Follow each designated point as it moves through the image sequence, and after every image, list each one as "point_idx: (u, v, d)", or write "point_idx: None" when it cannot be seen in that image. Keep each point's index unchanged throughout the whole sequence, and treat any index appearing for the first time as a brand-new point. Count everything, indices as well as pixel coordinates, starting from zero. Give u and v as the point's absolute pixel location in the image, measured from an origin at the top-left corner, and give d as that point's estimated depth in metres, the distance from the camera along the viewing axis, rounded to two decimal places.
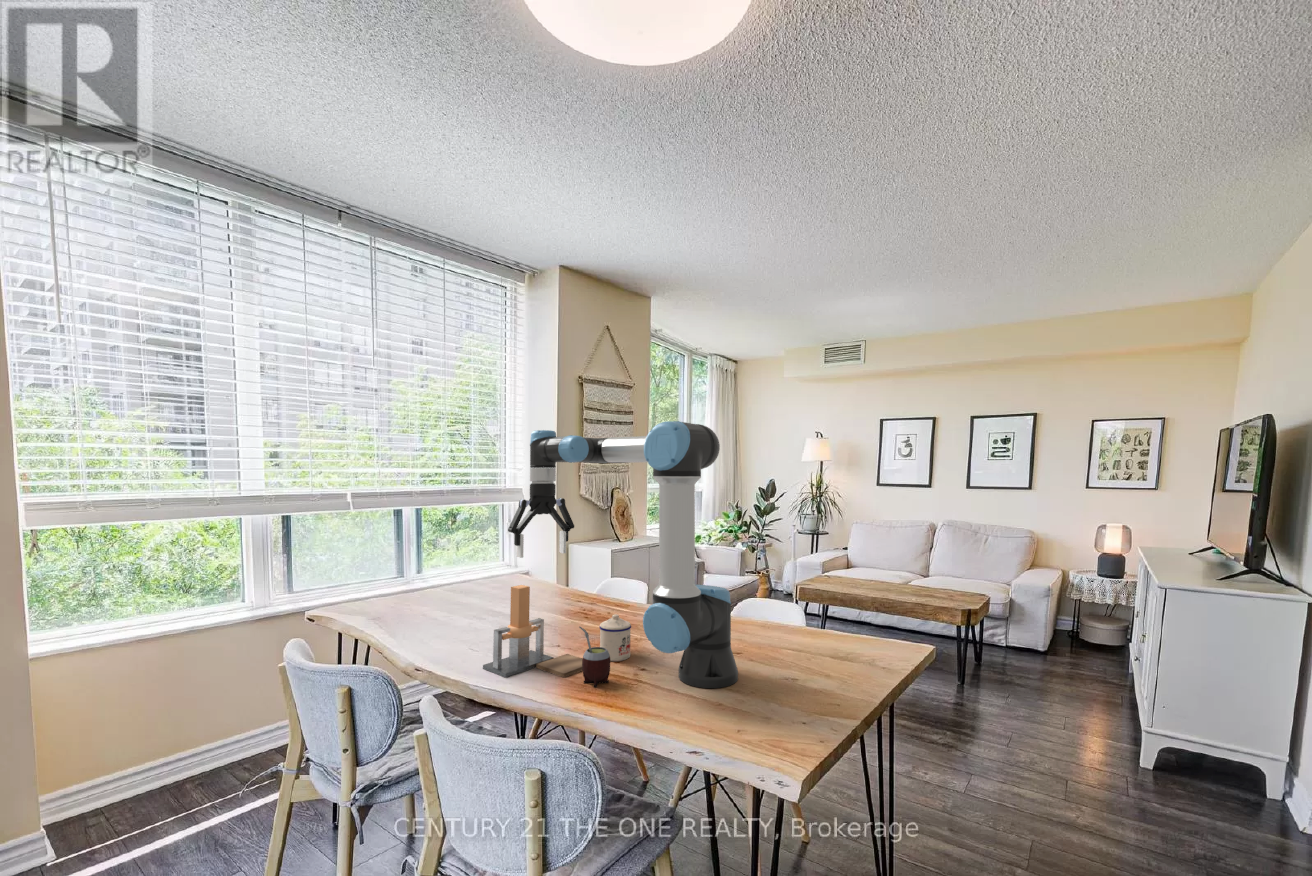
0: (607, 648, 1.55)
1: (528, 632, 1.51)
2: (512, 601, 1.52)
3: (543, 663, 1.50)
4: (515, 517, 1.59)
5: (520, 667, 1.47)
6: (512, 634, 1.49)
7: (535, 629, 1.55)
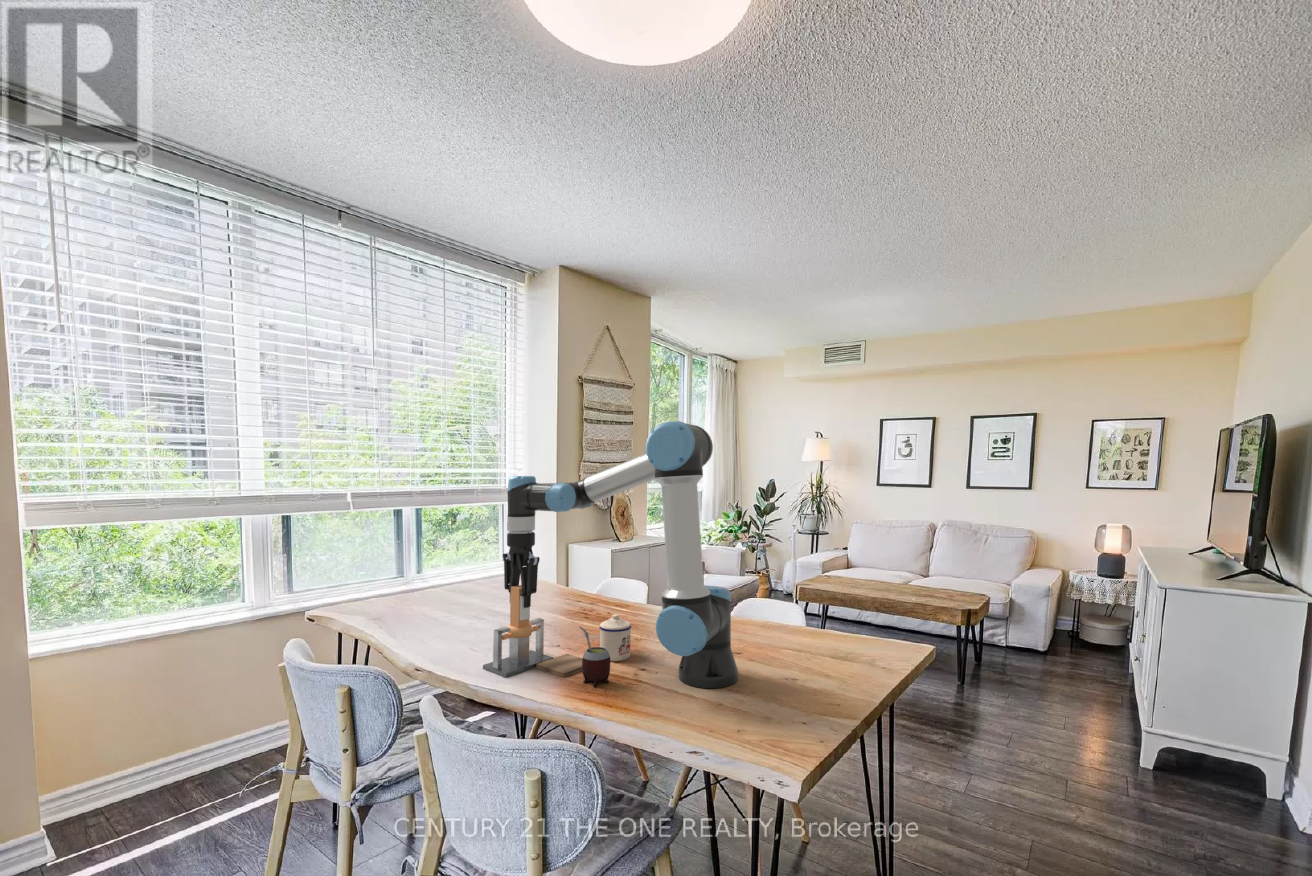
0: (607, 648, 1.55)
1: (528, 632, 1.51)
2: (512, 601, 1.52)
3: (543, 663, 1.50)
4: None
5: (520, 667, 1.47)
6: (512, 634, 1.49)
7: (535, 629, 1.55)
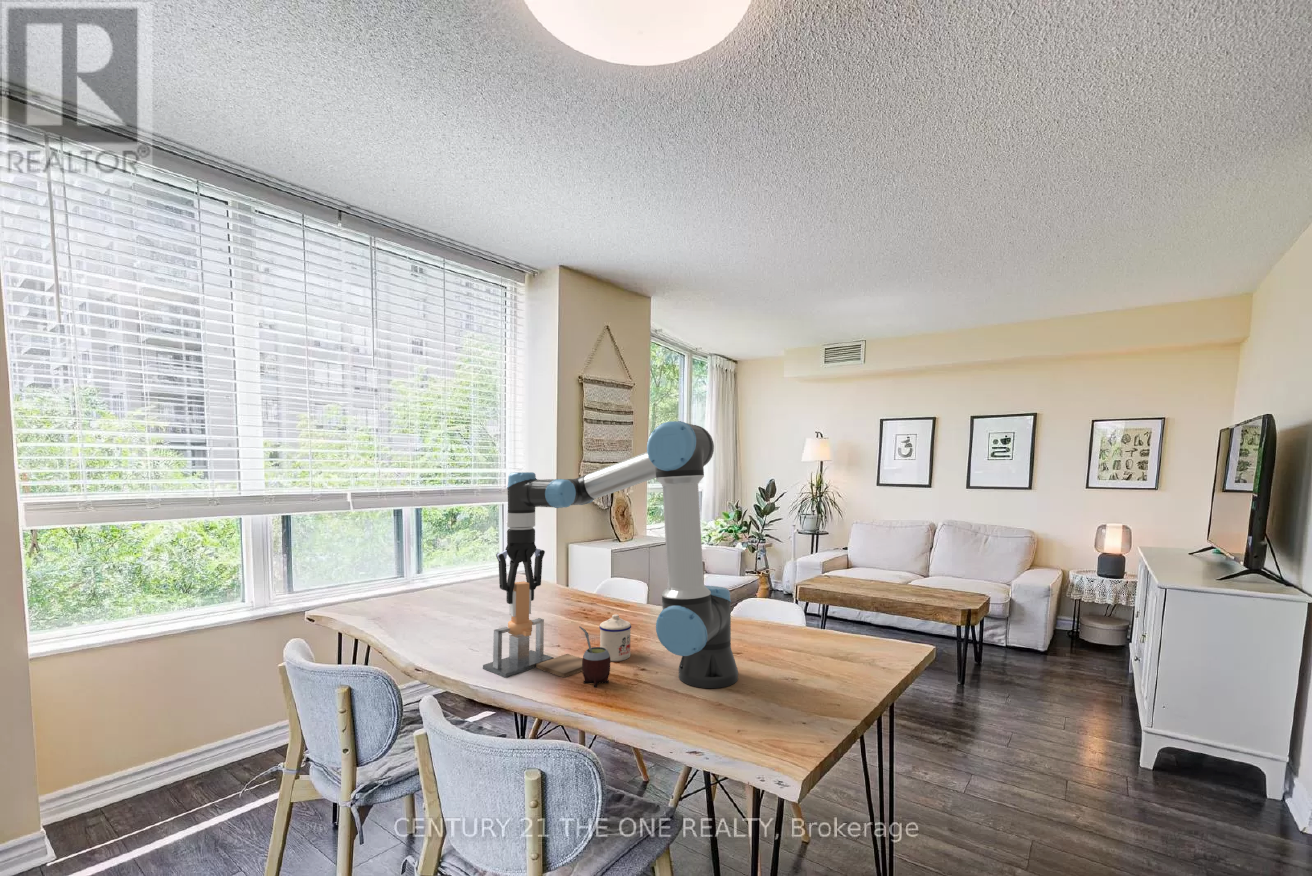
0: (607, 648, 1.55)
1: None
2: (519, 598, 1.51)
3: (543, 663, 1.50)
4: (500, 574, 1.50)
5: (520, 667, 1.47)
6: (527, 629, 1.50)
7: None
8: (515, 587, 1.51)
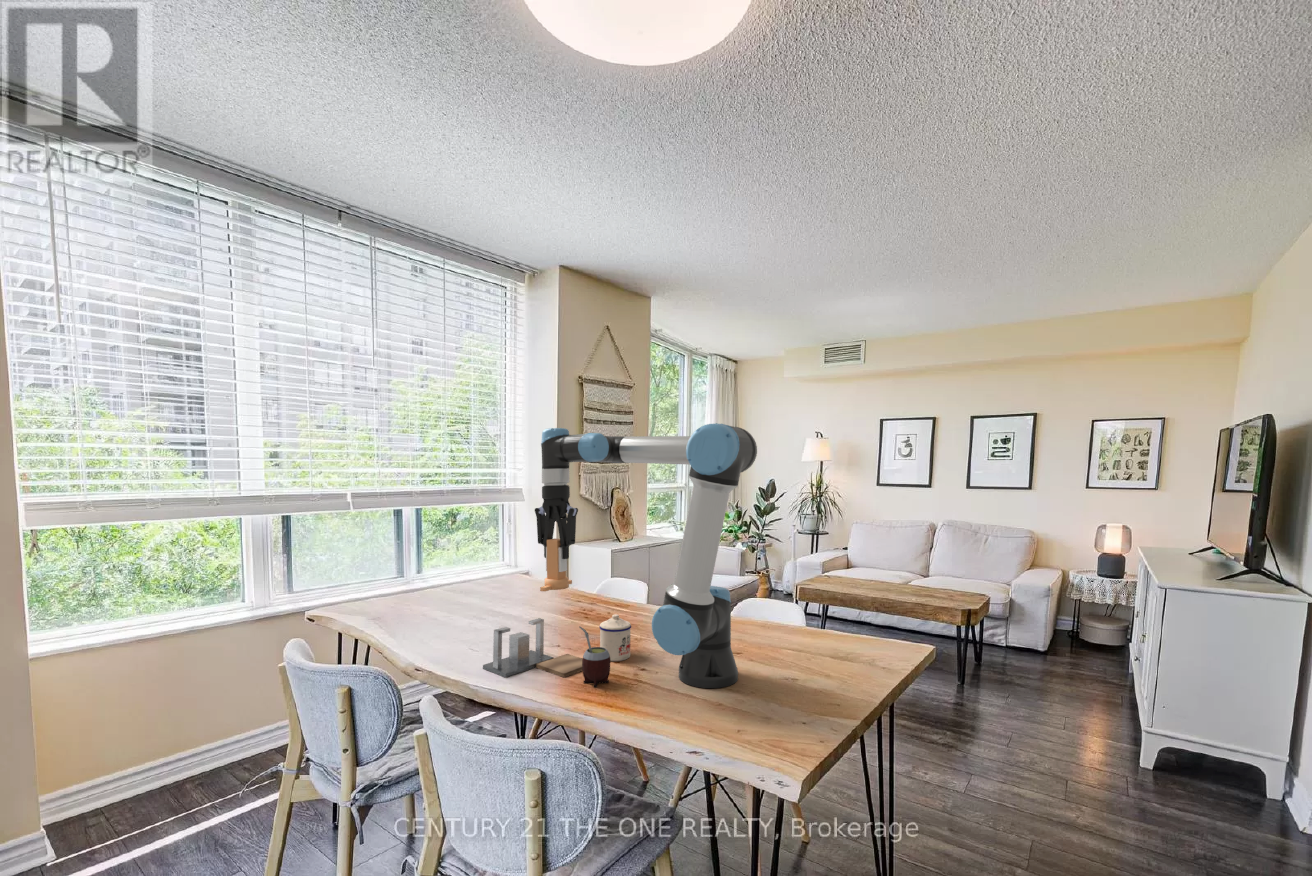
0: (607, 648, 1.55)
1: (567, 584, 1.50)
2: (549, 554, 1.51)
3: (543, 663, 1.50)
4: None
5: (520, 667, 1.47)
6: (552, 586, 1.48)
7: (569, 582, 1.55)
8: None
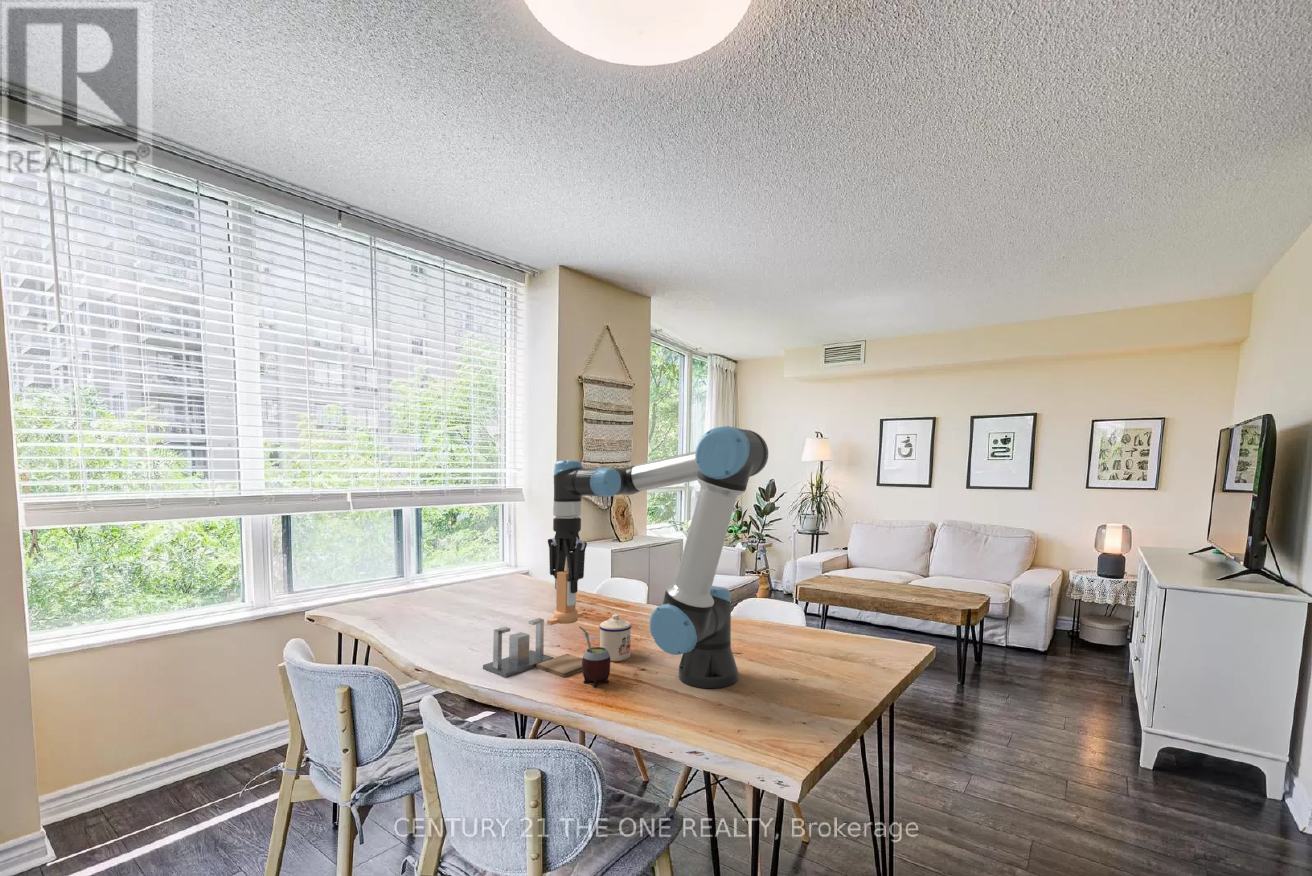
0: (607, 648, 1.55)
1: (575, 618, 1.49)
2: (558, 586, 1.51)
3: (543, 663, 1.50)
4: None
5: (520, 667, 1.47)
6: (559, 619, 1.48)
7: (580, 615, 1.54)
8: None
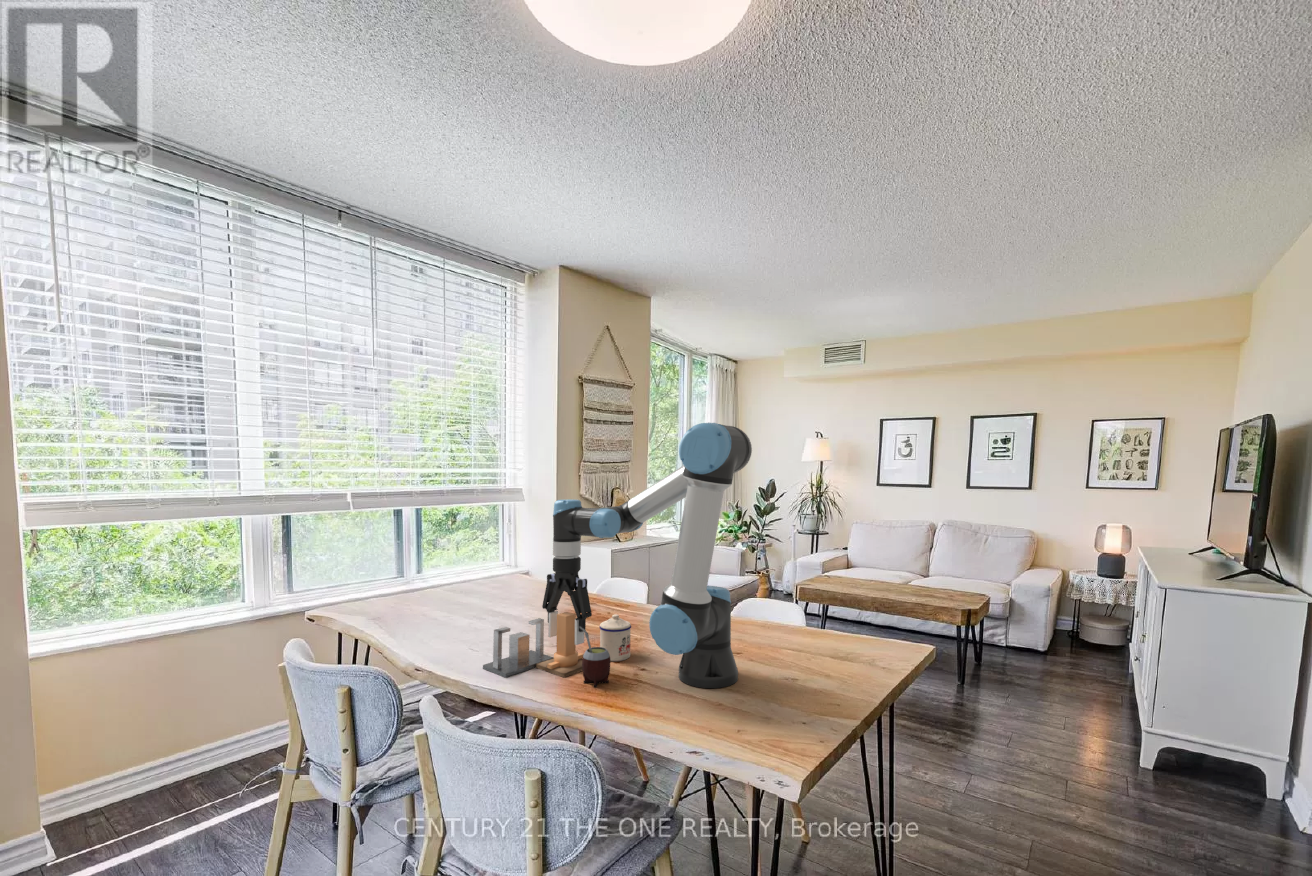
0: (607, 648, 1.55)
1: (575, 661, 1.49)
2: (558, 629, 1.50)
3: (543, 663, 1.50)
4: None
5: (520, 667, 1.47)
6: (559, 663, 1.47)
7: (581, 656, 1.53)
8: None
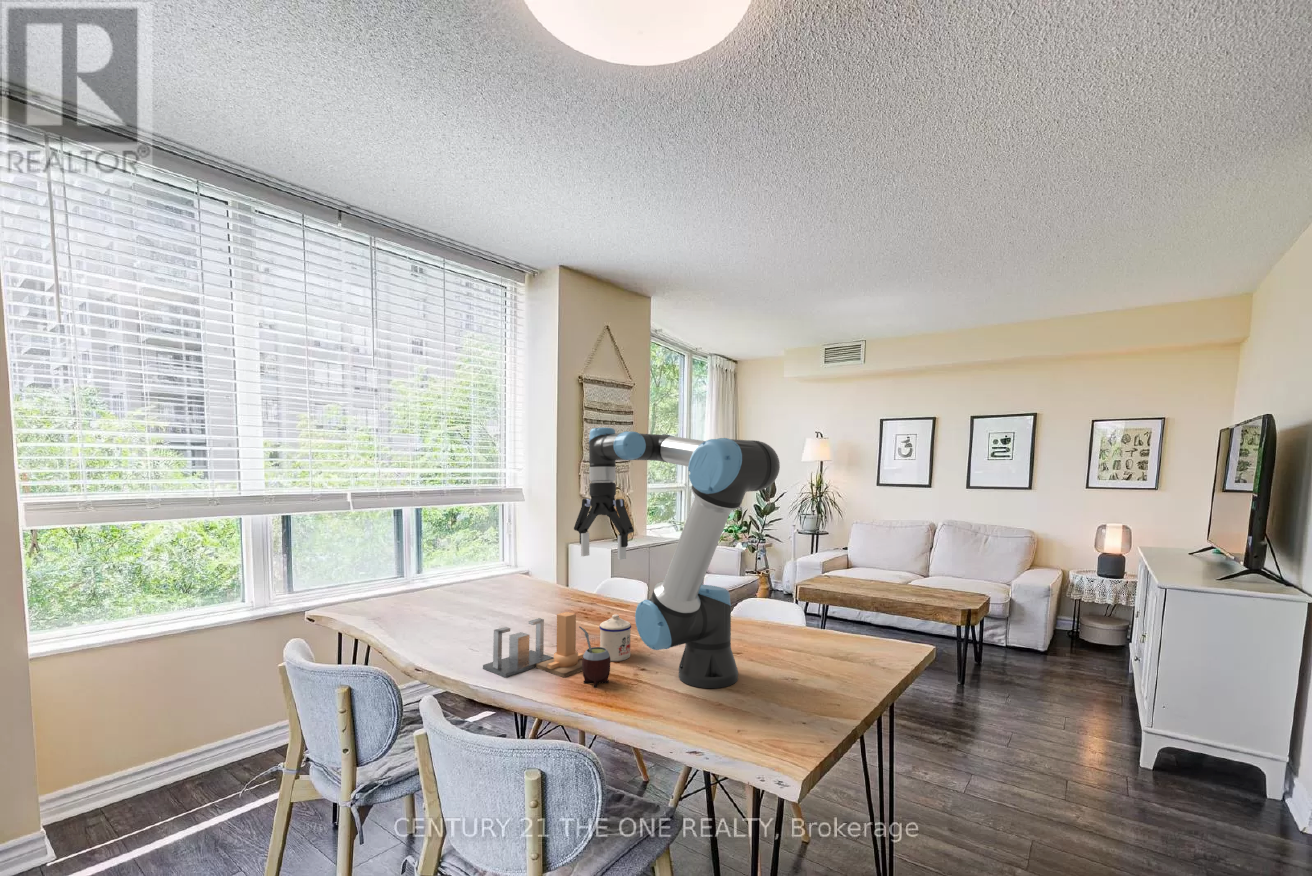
0: (607, 648, 1.55)
1: (575, 661, 1.49)
2: (558, 629, 1.50)
3: (543, 663, 1.50)
4: None
5: (520, 667, 1.47)
6: (559, 663, 1.47)
7: (581, 656, 1.53)
8: None
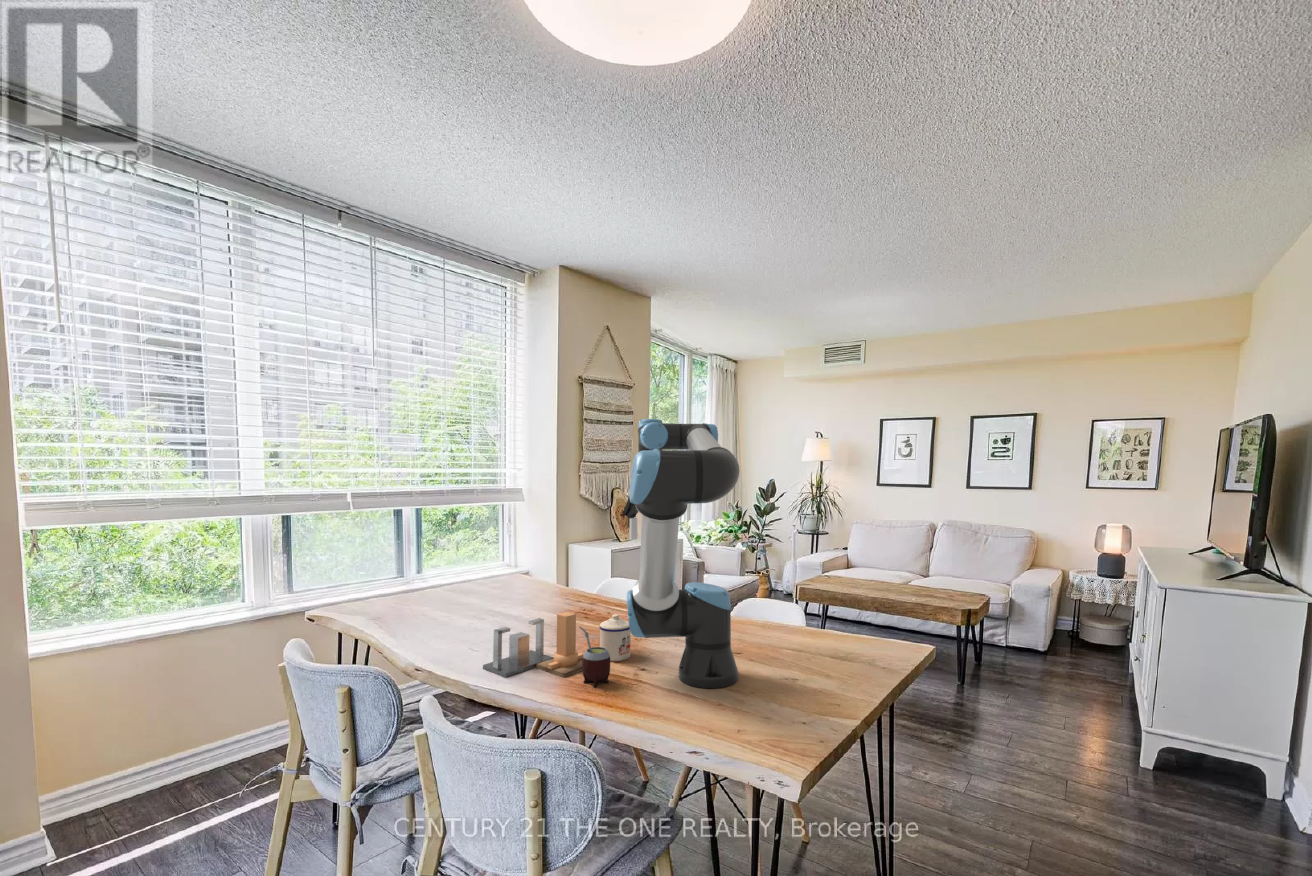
0: (607, 648, 1.55)
1: (575, 661, 1.49)
2: (558, 629, 1.50)
3: (543, 663, 1.50)
4: None
5: (520, 667, 1.47)
6: (559, 663, 1.47)
7: (581, 656, 1.53)
8: None
